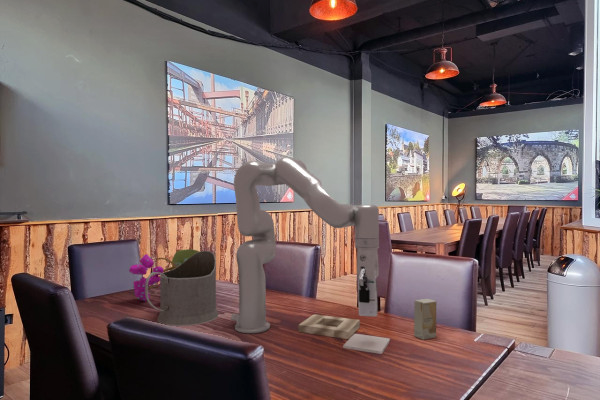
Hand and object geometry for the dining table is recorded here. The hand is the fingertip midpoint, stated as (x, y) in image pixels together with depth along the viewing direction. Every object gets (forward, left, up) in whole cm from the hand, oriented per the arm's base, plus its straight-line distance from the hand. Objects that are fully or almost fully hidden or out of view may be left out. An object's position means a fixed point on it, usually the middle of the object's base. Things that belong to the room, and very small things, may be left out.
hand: (367, 299), depth 126 cm
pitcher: (-73, -3, -15) cm, 75 cm away
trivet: (0, 0, -14) cm, 14 cm away
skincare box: (+16, +15, -15) cm, 26 cm away
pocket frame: (-16, +9, -14) cm, 23 cm away
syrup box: (0, 0, -5) cm, 5 cm away
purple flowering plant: (-100, +21, -15) cm, 103 cm away
